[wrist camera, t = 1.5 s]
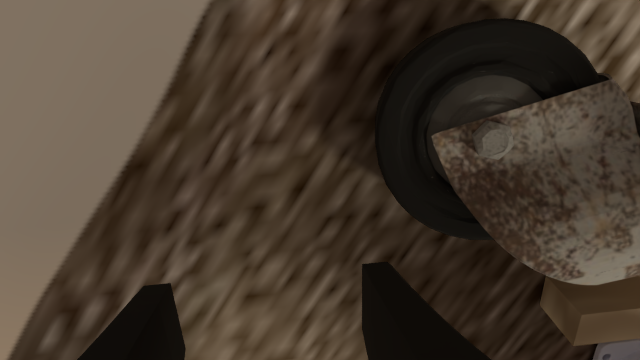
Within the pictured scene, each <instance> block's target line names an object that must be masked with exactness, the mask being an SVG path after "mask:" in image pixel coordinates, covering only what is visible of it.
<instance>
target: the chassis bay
mask: <svg viewBox="0 0 640 360" xmlns="http://www.w3.org/2000/svg"><path fill="white" fill-rule="evenodd" d="M540 306H541V307H542V309H543V310H544V311H545V312H546V313H547V315H548V316H549V317H550V318H551V320H552V321H553V322H554V323H555V325H556V326H557V327H558V328H559V329H560V331H561V332H562V333H563V334H564V336H565V337H566V338H567V339H568V341H569V342H570V343H571V344H572V345H573V346H580V345H588V344H597V343H605V342H613V341H622V340H630V339H639V338H640V275H639V276H635V277H630V278H626V279H622V280H617V281H613V282H608V283H604V284H599V285H580V284H573V283H568V282H564V281H560V280H557V279H554V278H551V277H548V276H546V278H545V283H544V287H543V292H542V296H541V301H540Z"/></svg>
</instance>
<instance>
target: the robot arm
mask: <svg viewBox="0 0 640 360" xmlns="http://www.w3.org/2000/svg"><path fill="white" fill-rule="evenodd" d="M362 330H363V335H364V340H365V345H366V350H367V355H368V359H369V360H491V359H490V358H489V357H487V356H486V355H485V354H484V353H482V352H481V351H480V350H479V349H477V348H476V347H475V346H474V345H473V344H471V343H470V342H469V341H468V340H467V339H466V338H464V337H463V336H462V335H461V334H460V333H458V332H457V331H456V330H455V329H454V328H453V327H452V326H451V325H450V324H448V323H447V322H446V321H445V320H444V319H443V318H442V317H441V316H440V315H439V314H438V313H437V312H436V311H435V310H434V309H433V308H432V307H431V306H429V305H428V304H427V303H426V302H425V301H424V300H423V299H422V298H421V297H420V296H419V294H418V293H417V292H416V291H415V290H414V289H413V288H412V287H411V286H410V285H409V284H408V283H407V282H406V281H405V280H404V279H403V278H402V277H401V275H400V274H399V273H398V272H397V271H396V270H395V269H394V268H393V267H392V266H391V265H390V264H389V263H388V262H379V263H369V264H362ZM184 357H185V344H184V340H183V335H182V331H181V327H180V322H179V318H178V314H177V309H176V305H175V301H174V296H173V292H172V288H171V283H168V284H158V285H148V286H143V287H142V288H141V290H140V291H139V292H138V293H137V294H136V295H135V296H134V297H133V298H132V299H131V301H130V302H129V303H128V304H127V305H126V306H125V307H124V309H123V310H122V311H121V312H120V313H119V314H118V315H117V317H116V318H115V319H114V320H113V321H112V322H111V323H110V324H109V326H108V327H107V328H106V329H105V330H104V331H103V332H102V333H101V334H100V336H99V337H98V338H97V339H96V340H95V341H94V342H93V343H92V344H91V345H90V346H89V348H88V349H87V350H86V351H85V352H84V353H83V354H82V355H81V356H80V357H79V358H78V359H77V360H184ZM593 360H640V338H639V339H630V340H622V341H613V342H605V343H599V344H598V345H597V347H596V350H595V354H594V357H593Z"/></svg>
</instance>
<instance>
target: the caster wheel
mask: <svg viewBox="0 0 640 360" xmlns="http://www.w3.org/2000/svg"><path fill="white" fill-rule="evenodd" d="M375 144H376V150H377V157H378V163H379V167H380V169H381V172H382V174H383V177H384V180H385V182H386V185H387V186H388V188H389V189H390V191H391V192H392V194H393V195H394V197H395V199H396V200H397V201H398V202H399V203H400V205H401V206H402V207H403V208H404V209H405V210H406V211H407V212H408V213H409V214H410V215H412V216H413V217H414V218H415V219H417V220H418V221H420V222H421V223H423V224H424V225H426V226H428V227H429V228H431V229H434V230H436V231H439V232H441V233H444V234H447V235H450V236H454V237H459V238H464V239H469V240H495V241H496V242H497V243H498V244H499V245H500V246H502V247H503V248H504V249H505V250H506V251H507V252H508V253H510V254H511V255H512V256H514V257H515V258H516V259H518V260H519V261H520V262H522V263H524V264H525V265H527V266H529V267H530V268H532V269H534V270H535V271H538V272H540V273H542V274H544V275H546V276H548V277H551V278H554V279H557V280H560V281H564V282H568V283H573V284H580V285H599V284H604V283H608V282H613V281H617V280H622V279H626V278H630V277H635V276H639V275H640V103H636V102H631V101H629V98H628V96H627V95H626V94H625V92H624V91H623V90H622V89H621V88H620V86H619V85H618V84H617V83H616V82H615V81H614V79H613V78H612V77H611V76H610V75H609V74H605V73H597V72H596V71H595V69H594V68H593V66H592V64H591V63H590V61H589V60H588V58H587V57H586V55H585V54H584V53H583V52H582V51H581V50H580V49H578V48H577V47H576V46H575V45H574V44H573V43H571V42H570V41H569V40H568V39H567V38H565V37H564V36H562V35H560V34H558V33H557V32H555V31H553V30H551V29H550V28H547V27H544V26H542V25H539V24H535V23H531V22H528V21H524V20H514V19H505V18H504V19H488V20H481V21H476V22H471V23H466V24H461V25H458V26H455V27H452V28H449V29H446V30H444V31H442V32H440V33H438V34H436V35H434V36H432V37H430V38H428V39H426V40H425V41H424V42H422V43H421V44H420V45H418V46H417V47H416V48H414V49H413V50H412V51H411V52H409V53H408V54H407V55H406V56H405V58H404V59H403V60H402V61H401V62H400V63H399V64H398V65H397V67H396V68H395V70H394V71H393V73H392V74H391V76H390V77H389V79H388V80H387V82H386V85H385V87H384V90H383V92H382V95H381V97H380V100H379V102H378V108H377V113H376V122H375Z"/></svg>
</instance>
